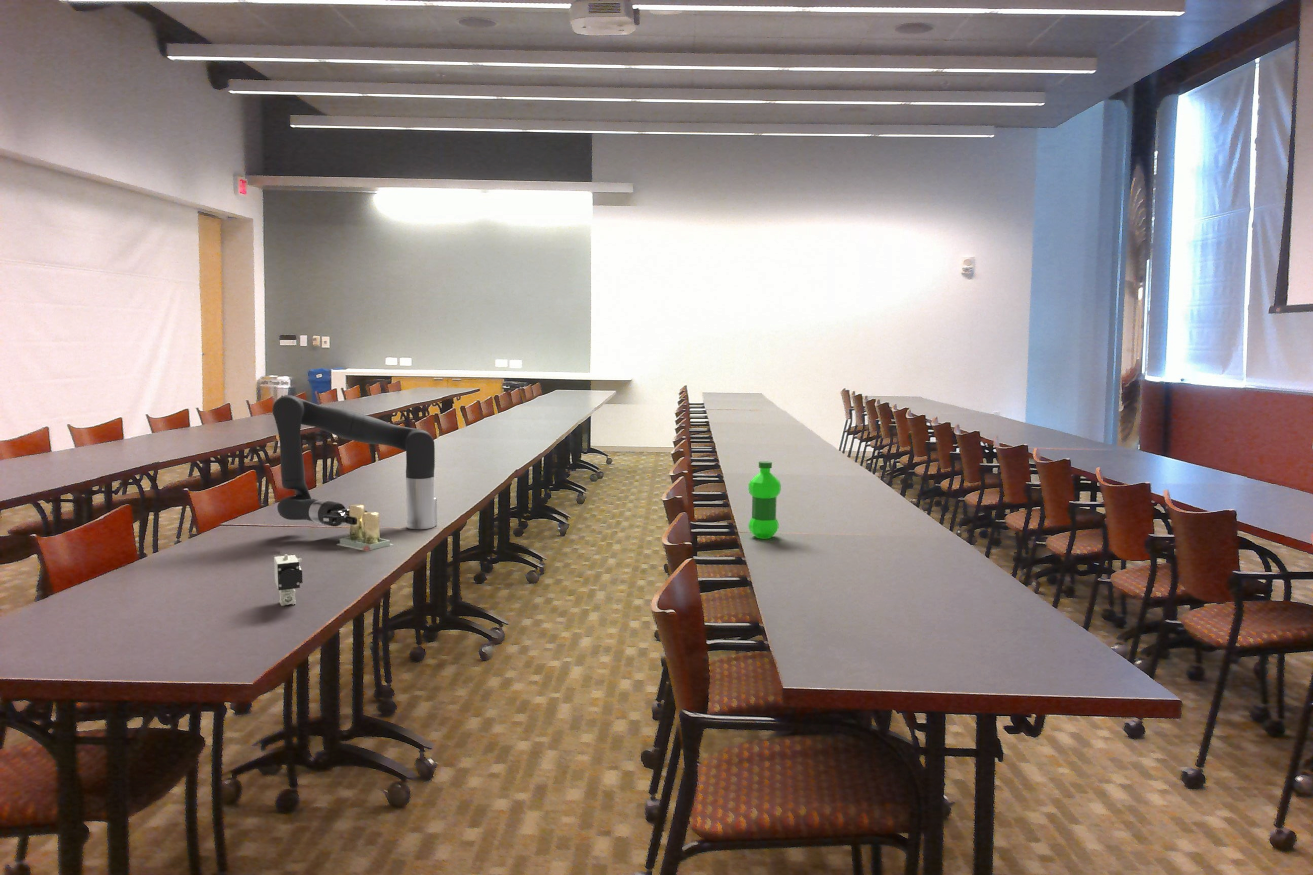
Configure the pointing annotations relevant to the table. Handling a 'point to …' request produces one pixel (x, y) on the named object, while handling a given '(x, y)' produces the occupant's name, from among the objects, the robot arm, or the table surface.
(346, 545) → the pale green divided tray
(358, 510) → the billet
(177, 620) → the table surface
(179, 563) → the table surface
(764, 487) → the plastic bottle
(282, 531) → the table surface
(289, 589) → the pneumatic valve
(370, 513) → the seated billet
